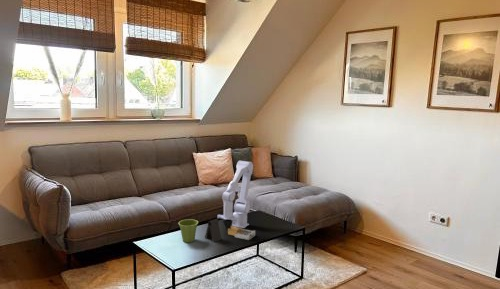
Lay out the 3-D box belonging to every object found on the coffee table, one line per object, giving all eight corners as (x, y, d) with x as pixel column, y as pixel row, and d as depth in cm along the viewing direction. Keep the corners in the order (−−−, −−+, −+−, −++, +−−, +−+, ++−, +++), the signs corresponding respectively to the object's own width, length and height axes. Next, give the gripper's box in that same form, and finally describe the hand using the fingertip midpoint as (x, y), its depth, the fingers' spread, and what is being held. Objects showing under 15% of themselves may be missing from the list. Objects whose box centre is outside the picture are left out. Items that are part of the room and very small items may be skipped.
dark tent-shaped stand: (221, 239, 224) (221, 220, 222) (214, 242, 219) (214, 223, 218) (212, 235, 230) (212, 217, 228) (204, 238, 226) (204, 219, 224)
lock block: (227, 234, 233) (228, 228, 232) (232, 231, 237) (232, 225, 236) (237, 236, 229) (237, 230, 228) (241, 234, 233) (241, 228, 233)
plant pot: (190, 235, 230) (190, 217, 228) (202, 240, 222) (202, 222, 220) (174, 239, 222) (174, 222, 220) (185, 245, 213) (185, 227, 212)
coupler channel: (234, 237, 228) (234, 232, 228) (241, 232, 236) (241, 228, 236) (249, 240, 224) (249, 235, 223) (255, 235, 232) (255, 230, 231)
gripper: (215, 210, 232) (214, 230, 234) (235, 213, 226) (234, 234, 228) (220, 207, 239) (220, 227, 241) (240, 210, 233) (240, 230, 234)
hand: (227, 230), depth 235 cm, fingers closed
